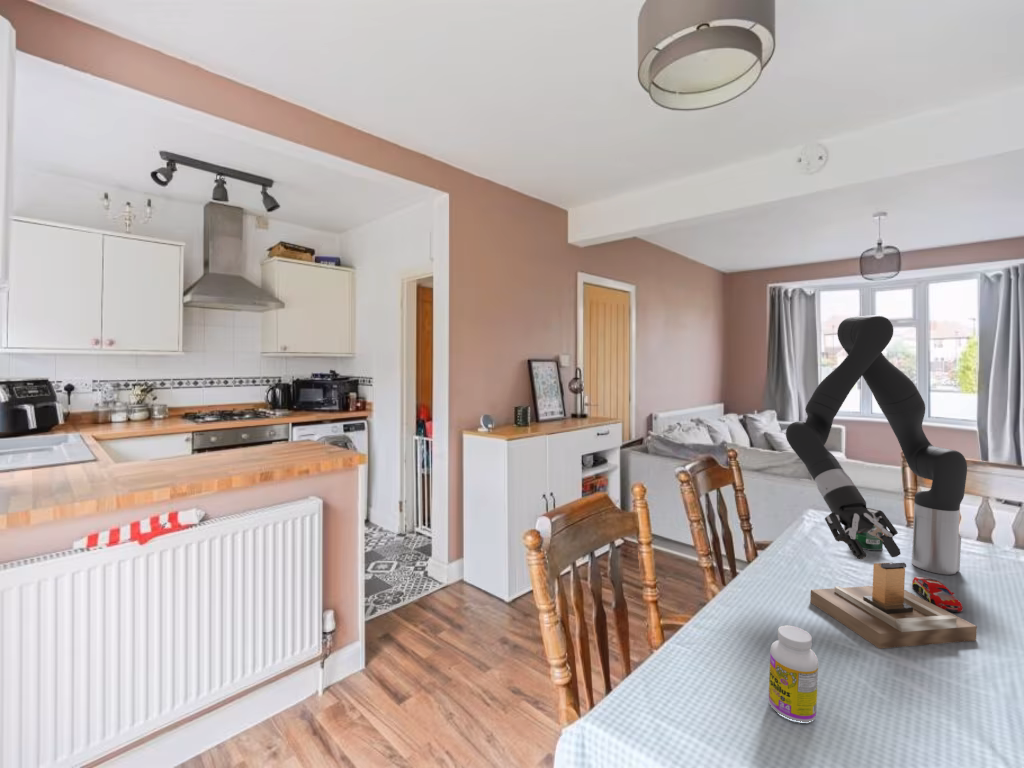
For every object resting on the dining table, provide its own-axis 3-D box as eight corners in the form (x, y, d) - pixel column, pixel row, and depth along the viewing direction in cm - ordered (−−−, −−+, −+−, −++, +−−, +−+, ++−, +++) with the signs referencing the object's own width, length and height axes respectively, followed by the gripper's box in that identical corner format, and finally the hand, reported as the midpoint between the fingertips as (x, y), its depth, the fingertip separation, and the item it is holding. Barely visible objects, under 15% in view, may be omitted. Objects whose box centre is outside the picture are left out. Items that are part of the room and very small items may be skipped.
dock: (893, 596, 113) (894, 576, 113) (976, 640, 96) (977, 616, 95) (810, 602, 111) (811, 581, 110) (879, 648, 93) (880, 623, 93)
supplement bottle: (759, 696, 79) (761, 622, 79) (796, 694, 80) (799, 620, 79) (786, 727, 73) (788, 646, 72) (826, 725, 73) (829, 644, 73)
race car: (966, 617, 105) (967, 599, 105) (936, 613, 107) (937, 595, 107) (935, 589, 118) (936, 574, 117) (908, 586, 119) (909, 570, 119)
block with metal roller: (888, 599, 106) (890, 555, 106) (912, 612, 101) (914, 566, 100) (863, 600, 105) (865, 556, 105) (886, 614, 100) (888, 567, 99)
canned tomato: (844, 542, 148) (845, 507, 147) (864, 540, 150) (865, 506, 149) (868, 552, 140) (870, 515, 140) (889, 550, 142) (891, 513, 141)
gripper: (821, 485, 112) (862, 551, 101) (874, 483, 114) (920, 548, 103) (804, 500, 118) (840, 565, 107) (855, 498, 120) (896, 561, 109)
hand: (879, 556), depth 105 cm, fingers open, 8 cm apart
